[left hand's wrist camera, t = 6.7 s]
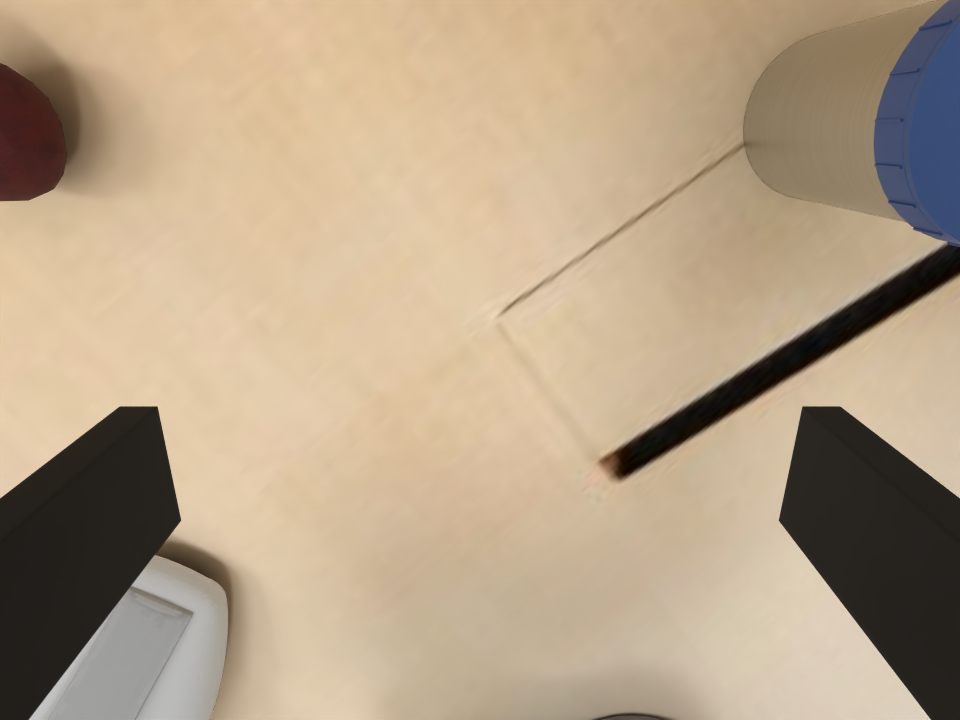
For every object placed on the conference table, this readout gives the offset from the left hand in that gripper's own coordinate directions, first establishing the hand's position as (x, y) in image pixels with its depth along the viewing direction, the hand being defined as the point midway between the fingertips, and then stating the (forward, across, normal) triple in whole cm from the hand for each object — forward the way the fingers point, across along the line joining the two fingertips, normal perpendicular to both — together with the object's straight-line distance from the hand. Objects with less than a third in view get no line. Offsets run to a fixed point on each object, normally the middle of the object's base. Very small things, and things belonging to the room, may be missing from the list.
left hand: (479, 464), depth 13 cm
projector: (+28, +29, +34) cm, 53 cm away
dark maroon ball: (+28, +27, -6) cm, 39 cm away
